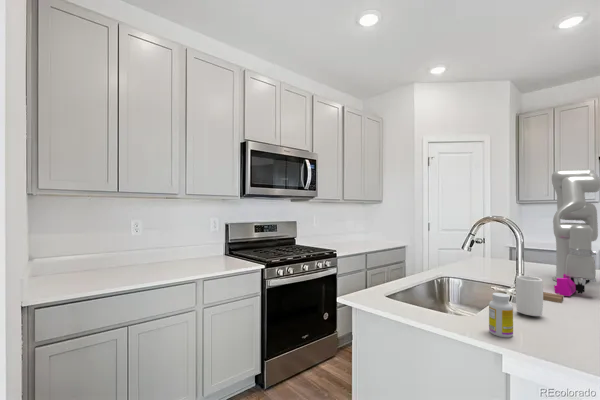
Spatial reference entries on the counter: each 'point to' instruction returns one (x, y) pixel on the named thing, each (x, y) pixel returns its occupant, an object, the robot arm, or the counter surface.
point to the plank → (552, 297)
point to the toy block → (565, 286)
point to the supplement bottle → (501, 315)
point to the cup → (529, 295)
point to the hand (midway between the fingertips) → (580, 293)
